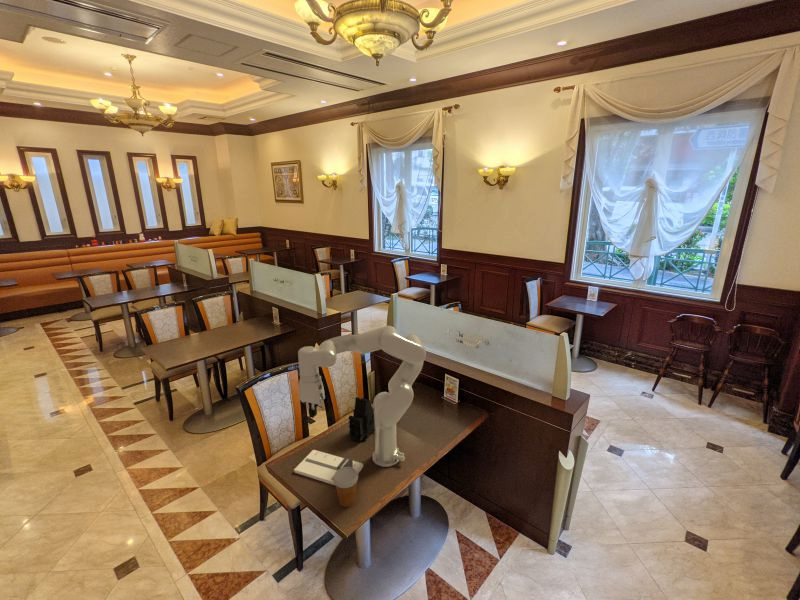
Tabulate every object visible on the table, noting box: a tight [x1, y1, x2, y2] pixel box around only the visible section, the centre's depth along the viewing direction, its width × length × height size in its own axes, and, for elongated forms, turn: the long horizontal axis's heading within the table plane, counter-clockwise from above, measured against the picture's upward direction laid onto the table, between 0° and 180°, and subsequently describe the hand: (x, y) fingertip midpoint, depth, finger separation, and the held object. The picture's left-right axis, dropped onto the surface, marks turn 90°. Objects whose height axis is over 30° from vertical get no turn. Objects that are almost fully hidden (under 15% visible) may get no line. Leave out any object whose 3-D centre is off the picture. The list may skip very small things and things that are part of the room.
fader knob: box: [337, 457, 354, 470], centre depth 156 cm, size 4×6×4 cm, turn 158°
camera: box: [348, 396, 375, 442], centre depth 180 cm, size 10×14×20 cm
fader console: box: [293, 449, 364, 486], centre depth 160 cm, size 26×14×2 cm, turn 68°
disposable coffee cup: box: [333, 467, 359, 508], centre depth 142 cm, size 10×10×12 cm
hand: (313, 415), depth 156 cm, fingers closed
